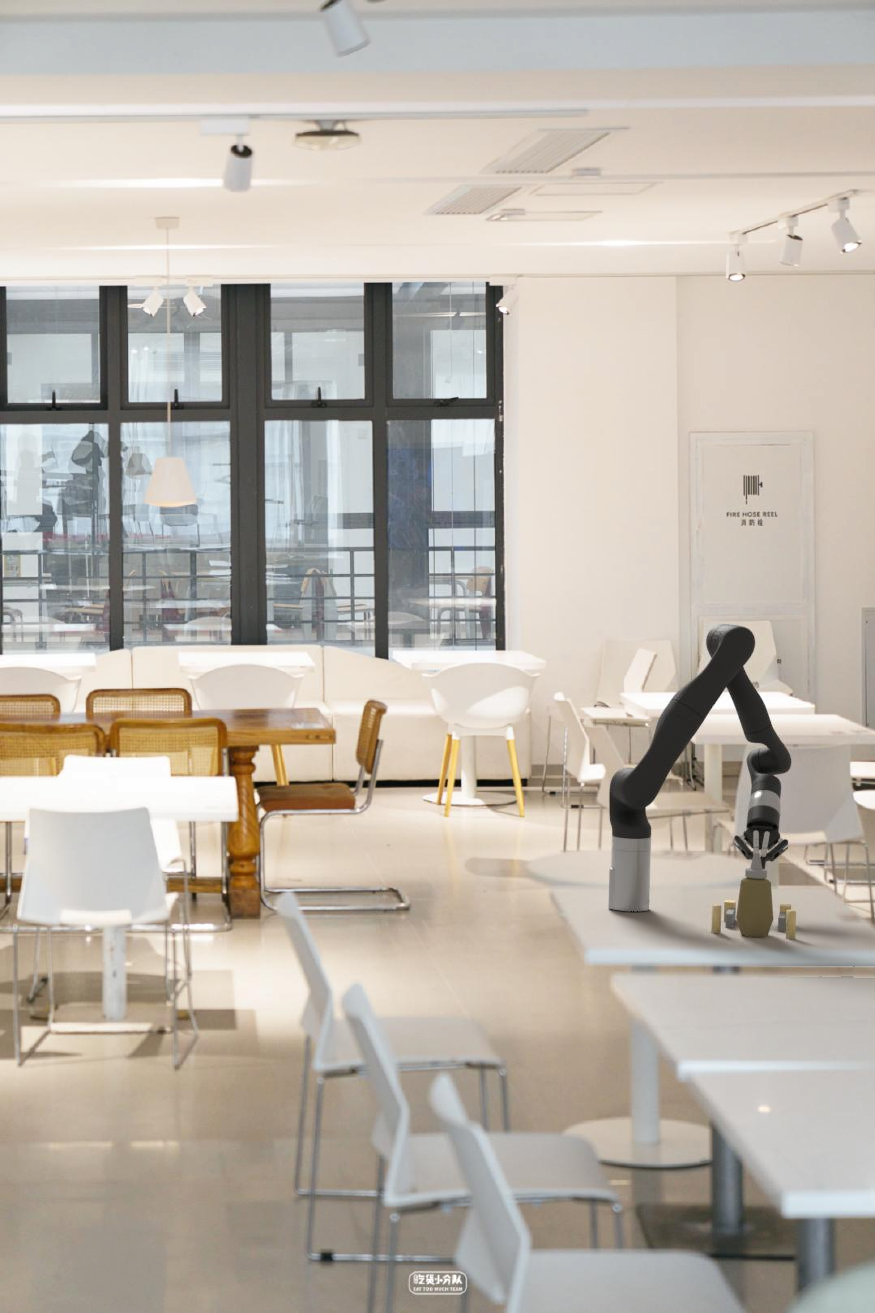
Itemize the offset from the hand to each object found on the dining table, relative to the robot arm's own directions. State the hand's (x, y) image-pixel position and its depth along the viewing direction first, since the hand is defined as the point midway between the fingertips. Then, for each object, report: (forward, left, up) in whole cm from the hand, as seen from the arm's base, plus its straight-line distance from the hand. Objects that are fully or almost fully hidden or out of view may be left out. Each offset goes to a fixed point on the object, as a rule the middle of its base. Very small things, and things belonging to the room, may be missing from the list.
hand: (758, 872), depth 351 cm
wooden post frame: (0, -10, -11) cm, 15 cm away
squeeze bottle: (0, -17, -11) cm, 21 cm away
